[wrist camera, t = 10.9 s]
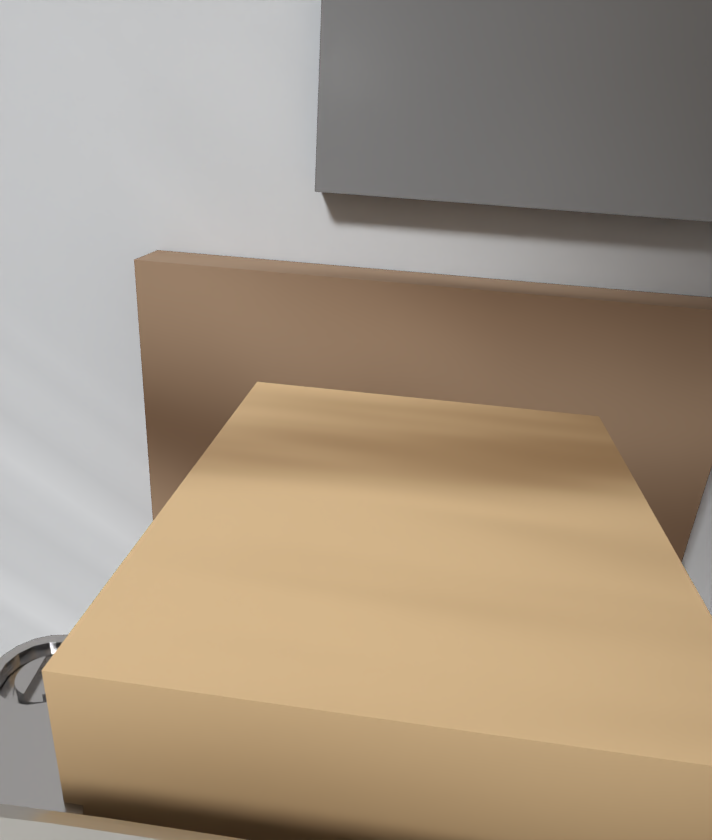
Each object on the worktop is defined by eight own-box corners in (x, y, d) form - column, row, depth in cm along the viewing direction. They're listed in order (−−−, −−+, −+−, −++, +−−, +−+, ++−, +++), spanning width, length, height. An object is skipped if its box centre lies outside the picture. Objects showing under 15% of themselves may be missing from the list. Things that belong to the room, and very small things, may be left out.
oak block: (257, 381, 12) (42, 669, 5) (598, 416, 11) (804, 778, 5) (256, 642, 14) (106, 1054, 8) (538, 680, 14) (622, 1151, 7)
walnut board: (157, 249, 14) (134, 259, 13) (733, 299, 13) (759, 314, 12) (177, 587, 18) (160, 617, 17) (631, 645, 17) (643, 681, 16)
